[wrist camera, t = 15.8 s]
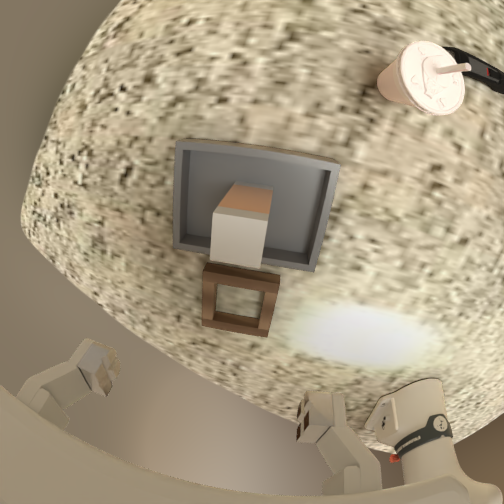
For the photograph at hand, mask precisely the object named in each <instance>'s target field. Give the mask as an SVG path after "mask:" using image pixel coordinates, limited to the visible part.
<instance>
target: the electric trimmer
mask: <svg viewBox="0 0 504 504" xmlns="http://www.w3.org/2000/svg"><path fill="white" fill-rule="evenodd" d="M442 48H443V49H445V50H446V51H447V52H448V53H449V54H450V55H451V56H452V57H453V58H454V60H455V61H456V63H457V64H463V63H469V64H470V66H471V70H470V71H463V72H461V73H462V75H465V76H468V77H471V78H474V79H477V80H479V81H482V82H484V83H486V84H488V85H490V86H491V88H492V89H493V90H494V91H496V92H499V93H502V94H504V73H503V72H502V71H500V70H499V69H497V68H495V67H493V66H491V65H490V64H488V63H486V62H484V61H482V60H481V59H479V58H477V57H475V56H473V55H471V54H469V53H467V52H464V51H462V50H460V49H458V48H454V47H442Z"/></svg>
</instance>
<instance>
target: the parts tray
mask: <svg viewBox="0 0 504 504" xmlns="http://www.w3.org/2000/svg"><path fill="white" fill-rule="evenodd" d="M340 166H341V165H340V164H339V163H338V162H337V161H336V160H335V159H331V158H327V157H322V156H317V155H312V154H307V153H302V152H296V151H291V150H285V149H279V148H273V147H266V146H259V145H252V144H244V143H236V142H227V141H218V140H207V139H194V138H186V139H182V140H179V141H176V148H175V166H174V190H173V248H174V249H180V250H186V251H191V252H197V253H203V254H209V255H210V248H211V233H212V219H213V212H214V211H215V209H216V208H217V206H218V205H219V204H220V202H221V201H222V199H223V198H224V197H225V195H226V194H227V193H228V191H229V190H230V189H231V187H232V186H233V184H234V183H235V182H236V181H240V182H247V183H254V184H260V185H267V186H273V194H272V200H271V206H270V212H269V218H268V224H267V230H266V236H265V242H264V248H263V254H262V260H261V264H267V265H273V266H279V267H285V268H291V269H297V270H303V271H309V272H314V271H315V267H316V264H317V260H318V257H319V253H320V249H321V245H322V242H323V238H324V234H325V230H326V226H327V222H328V218H329V214H330V210H331V206H332V202H333V198H334V193H335V189H336V184H337V180H338V175H339V171H340Z"/></svg>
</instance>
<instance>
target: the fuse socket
mask: <svg viewBox="0 0 504 504" xmlns="http://www.w3.org/2000/svg"><path fill="white" fill-rule="evenodd" d="M217 284H223V285H228V286H234V287H239V288H245V289H251V290H257V291H263V292H265V294H264V299H263V304H262V309H261V314H260V319H257V318H251V317H245V316H240V315H234V314H229V313H223V312H218V311H216V294H217ZM279 285H280V275H277V274H271V273H265V272H259V271H253V270H247V269H241V268H235V267H229V266H224V265H218V264H212V263H207V264H206V266H205V268H204V270H203V289H202V326H206V327H211V328H216V329H221V330H226V331H232V332H237V333H243V334H248V335H254V336H260V337H267V336H268V332H269V328H270V324H271V320H272V316H273V311H274V307H275V303H276V298H277V294H278V290H279Z"/></svg>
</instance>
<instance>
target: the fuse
mask: <svg viewBox="0 0 504 504" xmlns="http://www.w3.org/2000/svg"><path fill="white" fill-rule="evenodd" d="M272 194H273V186H267V185H260V184H254V183H247V182H240V181H236V182H235V183H234V184H233V186H232V187H231V189H230V190H229V191H228V193H227V194H226V195H225V197H224V198H223V199H222V201H221V202H220V204H219V205H218V206H217V208H216V209H215V211H214V212H213V219H212V233H211V248H210V260H212V261H218V262H224V263H229V264H235V265H241V266H247V267H253V268H259V269H260V266H261V260H262V254H263V248H264V242H265V236H266V230H267V224H268V218H269V212H270V206H271V200H272Z"/></svg>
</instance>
